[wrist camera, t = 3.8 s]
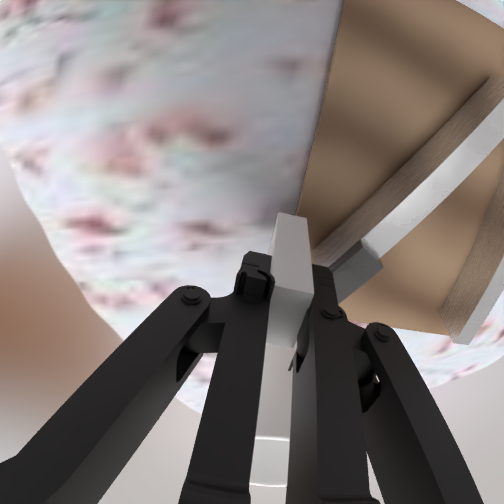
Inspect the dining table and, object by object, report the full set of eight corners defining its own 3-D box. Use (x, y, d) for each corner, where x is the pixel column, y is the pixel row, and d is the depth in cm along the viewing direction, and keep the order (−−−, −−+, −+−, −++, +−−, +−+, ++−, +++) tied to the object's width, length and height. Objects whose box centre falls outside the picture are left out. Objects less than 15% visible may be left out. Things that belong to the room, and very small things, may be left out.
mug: (384, 352, 24) (408, 461, 15) (327, 403, 28) (329, 499, 19) (257, 294, 23) (235, 421, 14) (212, 360, 27) (184, 466, 18)
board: (349, -34, 12) (353, -41, 11) (553, 74, 12) (563, 75, 11) (273, 295, 23) (272, 306, 22) (457, 327, 22) (462, 337, 21)
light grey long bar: (490, 75, 12) (529, 79, 9) (504, 97, 13) (543, 105, 9) (311, 250, 19) (315, 287, 16) (330, 266, 19) (336, 305, 16)
